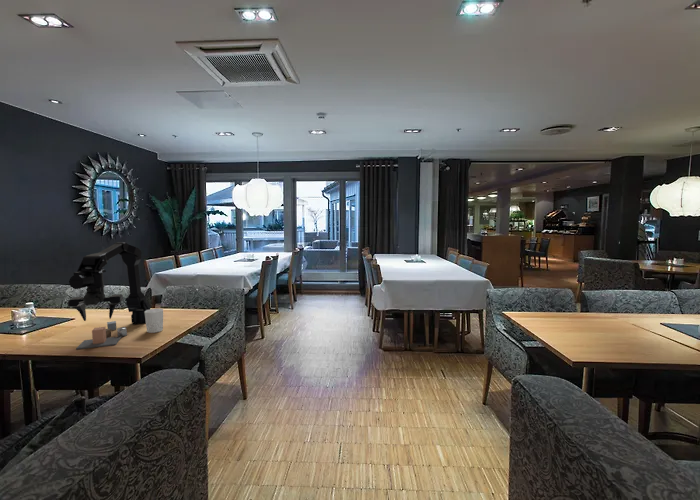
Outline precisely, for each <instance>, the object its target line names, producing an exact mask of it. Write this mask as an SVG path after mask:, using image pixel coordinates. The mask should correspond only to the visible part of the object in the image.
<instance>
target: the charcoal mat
mask: <svg viewBox="0 0 700 500" xmlns="http://www.w3.org/2000/svg"><path fill="white" fill-rule="evenodd" d="M121 339H122V337H121V336H118V335H117V336H111V337H109V338H106V341H105V342H104V343H98V344H93V338H92V339H85V340H82V342H81V343H80V344H79V345H78V346H77V347H76V350H77V351H78V350H84V349H86V350H87V349H94V348H102V347H110V346H116V345H117V344H118V343H119V341H120V340H121Z"/></svg>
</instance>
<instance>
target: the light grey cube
mask: <svg viewBox="0 0 700 500" xmlns="http://www.w3.org/2000/svg"><path fill="white" fill-rule="evenodd" d="M116 331H117V332H116V333H117V337H118V336H121V338H123V337H126V336H128V331H127V327H126V326H122V327H120V326H119V327H118V328H117V330H116Z"/></svg>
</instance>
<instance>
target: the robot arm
mask: <svg viewBox="0 0 700 500" xmlns="http://www.w3.org/2000/svg"><path fill="white" fill-rule="evenodd" d="M117 255H118V256H120V257H121V260H122V262H123V263H124V265H125V266H126V270H127V280H128V288H129V294H128V296H127V297H126V298H125V302H126V303H125V304H126V305H125V306H126V308H127V310H128V312H129V313H132V314H131V315H130V316H131V317H130V318H131V324H132V325H142V324H146V321H145V311H146V310H149V309H152V308H151V307H152V306H151V305H150V304H149V302H148V301H147V297H146V295H145V294H144V293H143V292H142V286H141V279H140V278H141V277H140V269H139V264H140V262H141V260H142V250H141V249H140V248H139V247H136V246H134V245H131V244H129V243H127V242H124V241H122V242H121V241H118V242H114V243H113V244H112V245H110V246H108V247H106V248H105V249H103V250H100V252H95V253H90V254H87V255H84V256H83V258H82V260H81V262H80V263H79V266H78V268H77V270H76V271H74V272H73V275H72V276H71V277H70V278H69V281H68V284H69V286H70V287H71V288H72V289H74V290H79V289H80V290H81V289H83V288H86V291H85V293H84V295H83V296H77V297H72V298H70V299H69V300H67V301H68V302H67V307H69V308H70V307H71V308H72V309H76V310H77V312H79V314H80V316H81V318H82V319H83V322H86V321H87V312H86V306H91V305H94V306H96V305H98V304H99V303H104V302H109V304H108V309H109V312H108V316H109V319H110V320H111V319H112V317H113V313H114V311H115V308H116V306H118V304H120V303H122V302H123V301H124V296H123V294H120V293H119V294H111V295H110V296H105V295H106V294H105V289H104V288H105V285H104V273H106V272H107V270H106V269H104V267H105V266H106V265H107V264H108V261H110V260H112V259H113V258H114V257H117Z"/></svg>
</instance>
